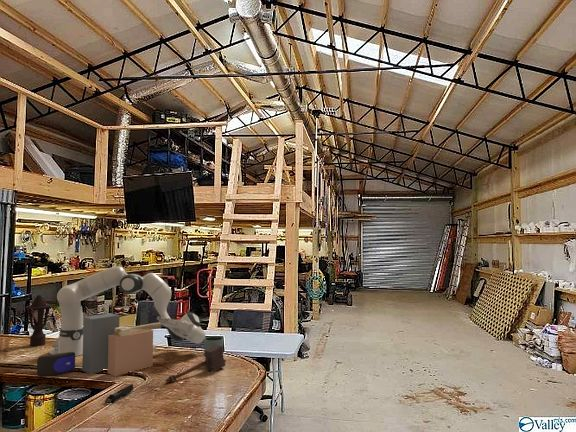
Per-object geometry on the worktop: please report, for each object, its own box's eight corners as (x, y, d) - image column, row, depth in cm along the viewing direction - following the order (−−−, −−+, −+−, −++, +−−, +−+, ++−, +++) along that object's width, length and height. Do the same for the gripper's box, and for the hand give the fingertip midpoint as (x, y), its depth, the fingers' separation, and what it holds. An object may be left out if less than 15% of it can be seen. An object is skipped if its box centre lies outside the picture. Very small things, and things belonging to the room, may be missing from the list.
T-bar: (114, 334, 211) (114, 328, 211) (155, 326, 229) (155, 321, 229) (122, 336, 207) (122, 329, 207) (163, 328, 224) (163, 322, 224)
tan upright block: (107, 373, 208) (108, 335, 209) (145, 363, 223) (145, 328, 224) (115, 376, 203) (115, 337, 204) (152, 366, 219) (153, 330, 219)
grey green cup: (213, 357, 235) (213, 335, 236) (227, 360, 229) (227, 337, 230) (199, 361, 227) (200, 338, 227) (213, 365, 221) (213, 341, 221)
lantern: (30, 342, 269) (32, 293, 271) (55, 341, 271) (56, 293, 272) (18, 348, 255) (20, 297, 256) (45, 347, 256) (46, 296, 258)
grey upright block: (82, 370, 212) (83, 317, 213) (109, 364, 223) (110, 313, 224) (90, 374, 206) (92, 319, 207) (118, 367, 217) (119, 315, 218)
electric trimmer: (135, 391, 184) (136, 384, 184) (112, 405, 169) (112, 396, 169) (128, 391, 185) (128, 383, 185) (104, 404, 170) (104, 395, 170)
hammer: (227, 365, 216) (224, 345, 215) (172, 396, 191) (169, 374, 190) (218, 362, 221) (215, 343, 220) (163, 392, 196) (160, 371, 195)
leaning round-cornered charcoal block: (37, 378, 200) (37, 358, 200) (36, 376, 204) (37, 355, 204) (76, 372, 209) (76, 352, 209) (74, 370, 213) (75, 350, 213)
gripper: (173, 320, 245) (154, 311, 236) (195, 324, 232) (176, 315, 223) (168, 331, 242) (149, 322, 233) (190, 336, 229) (171, 326, 220)
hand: (163, 318), depth 228 cm, fingers open, 8 cm apart
